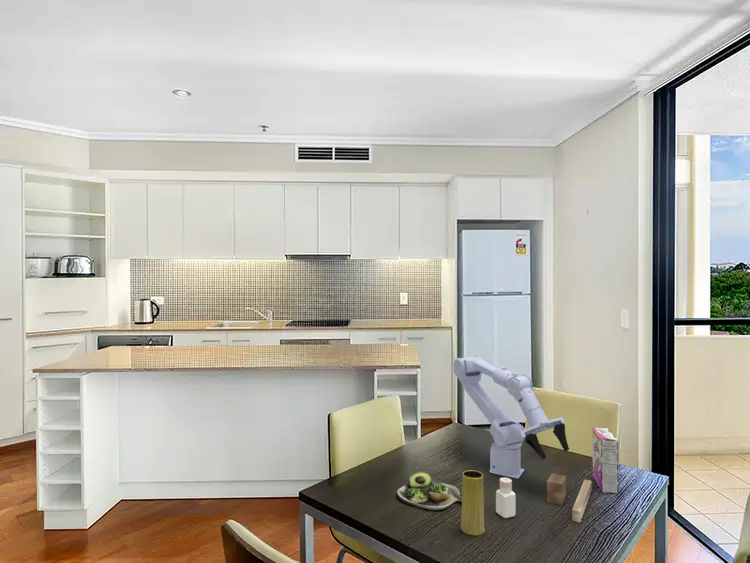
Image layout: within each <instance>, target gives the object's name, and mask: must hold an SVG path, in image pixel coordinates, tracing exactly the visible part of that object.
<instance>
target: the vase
mask: <svg viewBox="0 0 750 563" xmlns="http://www.w3.org/2000/svg"><path fill="white" fill-rule="evenodd" d="M461 477H462V478H461V480H462V482H461V484H462V485H461V486H462V487H461V490H462V492H461V496H462V501H461V513H460V514H461V515H460V516H461V518H460V530H461V532H463V533H464V534H466V535H469V536H481V535H482V534H484V533H485V531H486V528H485V509H484V508H485V500H484V494H485V493H484V474H483V473H482V472H481V471H478V470H473V469H468V470H464V471H463V472H462V476H461Z"/></svg>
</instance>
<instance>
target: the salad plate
mask: <svg viewBox="0 0 750 563" xmlns="http://www.w3.org/2000/svg"><path fill="white" fill-rule="evenodd" d="M396 496H397V498H398V499H399V500H400V501H401V502H403V503H405V504H406V505H410V506H414V507H417V508H421V509H427V510H431V511H441V510H446V509H448V508H450V507H451V506H452V505H453V504H454V503H456V502H462V495H460V490H459V489H458V488H457V487H456V486H454V485H451V484H448V483H443V482H441V481H439V480H437V479H436V478H435V477H433V476H431V474H429V473H428V472H424V471H417V472H415V473H413V474H412V475H410V476H409V478H408V482H407V483H406V484H404V485H403V486H402V487H399V488H398V489H397V491H396ZM426 502H435V503H439V504H438V505H426V504H425V505H424V504H421V503H426Z"/></svg>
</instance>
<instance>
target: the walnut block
mask: <svg viewBox="0 0 750 563" xmlns="http://www.w3.org/2000/svg"><path fill="white" fill-rule="evenodd" d="M566 497H567V475H563V474H559V473H554V472H551V473H550V476H549V477H548V479H547V480H546V503H550V504H554V505H557V506H562V505H563V503H564V501H565V499H566Z"/></svg>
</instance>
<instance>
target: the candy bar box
mask: <svg viewBox="0 0 750 563" xmlns="http://www.w3.org/2000/svg"><path fill="white" fill-rule="evenodd" d="M591 429H592V479H593V480H594V482H595V483H596V484H597V487H598V488H599V490H600V491H601V493H603V494H604V493H605V494H614V495H615V494H619V440H618V438H617V437H616V436H615V435H614V434H613V433H612V432H611V430H610V429H609V428H608V427H607V428H605V427H592V428H591Z"/></svg>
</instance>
